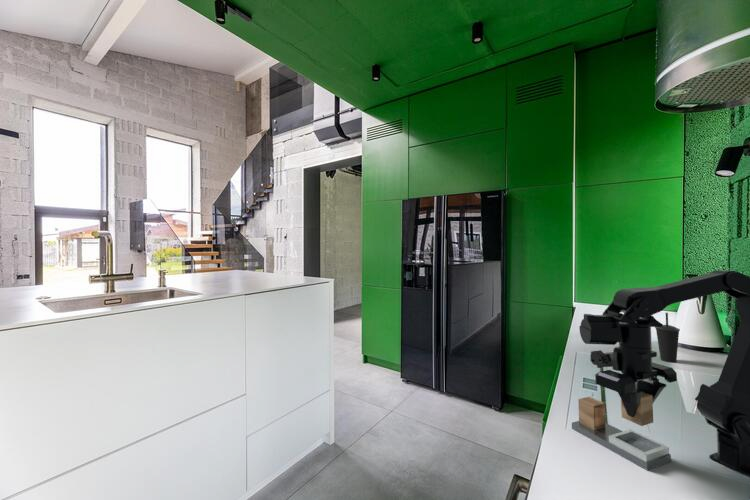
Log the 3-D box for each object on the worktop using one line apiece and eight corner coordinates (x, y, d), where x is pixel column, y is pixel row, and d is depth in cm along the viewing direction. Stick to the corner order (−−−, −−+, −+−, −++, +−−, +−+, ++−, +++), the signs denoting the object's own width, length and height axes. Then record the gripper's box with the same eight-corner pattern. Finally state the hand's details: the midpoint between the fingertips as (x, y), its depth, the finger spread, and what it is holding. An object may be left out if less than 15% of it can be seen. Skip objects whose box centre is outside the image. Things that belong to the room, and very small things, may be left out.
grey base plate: (593, 422, 84) (593, 411, 84) (671, 461, 68) (670, 447, 68) (571, 428, 81) (571, 416, 81) (647, 470, 65) (646, 456, 65)
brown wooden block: (589, 419, 83) (589, 396, 83) (606, 427, 79) (605, 403, 79) (579, 422, 81) (578, 399, 82) (595, 430, 77) (594, 406, 78)
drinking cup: (651, 358, 133) (650, 311, 133) (663, 356, 135) (662, 310, 136) (673, 364, 126) (671, 315, 126) (685, 362, 128) (683, 313, 128)
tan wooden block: (653, 422, 69) (652, 395, 69) (641, 426, 68) (640, 398, 68) (631, 413, 73) (631, 387, 73) (620, 416, 72) (619, 390, 72)
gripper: (624, 333, 82) (626, 393, 81) (572, 340, 75) (574, 405, 75) (677, 344, 71) (679, 413, 71) (621, 354, 65) (624, 430, 64)
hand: (637, 414), depth 71 cm, fingers closed on tan wooden block, 4 cm apart
